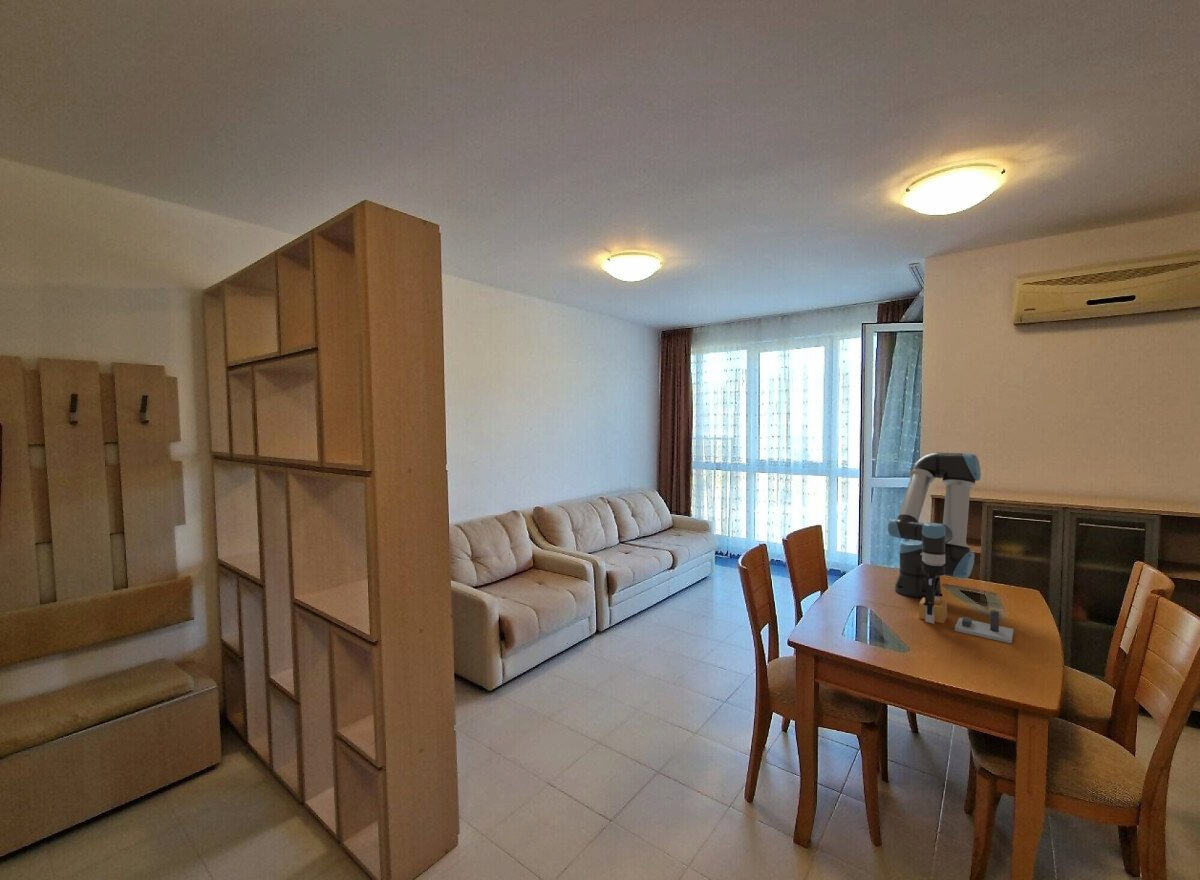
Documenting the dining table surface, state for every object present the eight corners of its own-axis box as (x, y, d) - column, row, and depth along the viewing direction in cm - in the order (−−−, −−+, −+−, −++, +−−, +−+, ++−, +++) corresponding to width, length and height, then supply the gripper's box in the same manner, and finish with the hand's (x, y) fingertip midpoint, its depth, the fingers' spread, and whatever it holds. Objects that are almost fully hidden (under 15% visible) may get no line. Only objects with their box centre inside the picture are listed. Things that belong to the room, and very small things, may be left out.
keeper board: (959, 620, 188) (959, 599, 188) (1013, 632, 177) (1013, 609, 177) (954, 630, 179) (954, 608, 179) (1011, 643, 168) (1011, 620, 168)
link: (922, 612, 197) (922, 597, 196) (946, 617, 191) (947, 602, 191) (918, 618, 191) (919, 603, 191) (943, 623, 185) (943, 608, 185)
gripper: (927, 554, 202) (927, 605, 203) (915, 568, 184) (915, 624, 185) (949, 558, 197) (949, 610, 197) (939, 572, 179) (939, 629, 179)
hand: (932, 617), depth 191 cm, fingers open, 12 cm apart
